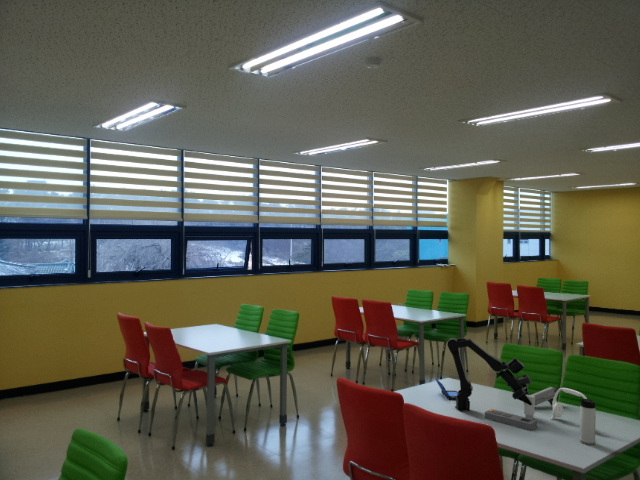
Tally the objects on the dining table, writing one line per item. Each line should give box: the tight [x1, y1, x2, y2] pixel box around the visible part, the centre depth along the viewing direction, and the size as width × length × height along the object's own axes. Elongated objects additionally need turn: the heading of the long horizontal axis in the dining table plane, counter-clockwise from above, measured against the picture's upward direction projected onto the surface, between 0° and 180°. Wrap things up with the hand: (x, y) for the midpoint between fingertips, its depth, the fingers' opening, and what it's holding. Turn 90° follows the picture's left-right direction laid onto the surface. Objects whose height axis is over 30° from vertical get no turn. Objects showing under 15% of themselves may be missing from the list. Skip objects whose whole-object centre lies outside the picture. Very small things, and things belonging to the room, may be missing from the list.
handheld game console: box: [435, 378, 458, 401], centre depth 297 cm, size 16×13×9 cm
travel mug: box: [579, 397, 597, 446], centre depth 228 cm, size 6×7×20 cm
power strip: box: [484, 408, 538, 431], centre depth 254 cm, size 24×8×4 cm, turn 45°
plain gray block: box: [523, 394, 536, 419], centre depth 260 cm, size 5×5×12 cm
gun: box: [531, 386, 560, 407], centre depth 281 cm, size 2×25×10 cm, turn 111°
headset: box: [550, 387, 588, 421], centre depth 252 cm, size 20×7×18 cm, turn 29°
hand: (532, 403), depth 259 cm, fingers open, 5 cm apart
